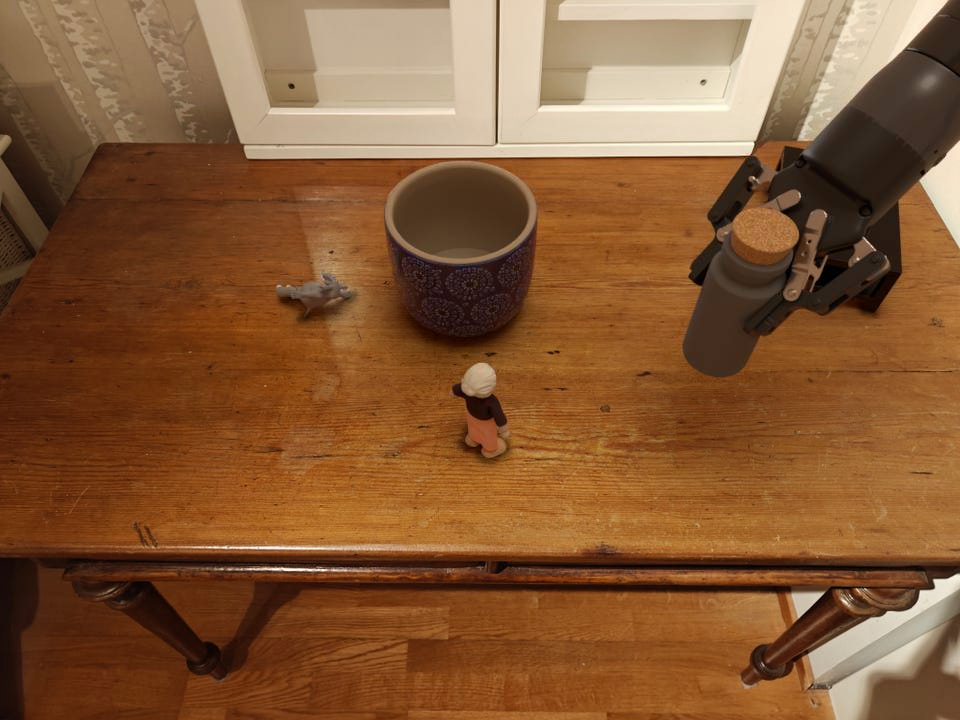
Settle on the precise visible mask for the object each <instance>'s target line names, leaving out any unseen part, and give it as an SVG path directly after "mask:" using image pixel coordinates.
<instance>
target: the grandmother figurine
mask: <svg viewBox="0 0 960 720" xmlns="http://www.w3.org/2000/svg"><path fill="white" fill-rule="evenodd" d="M497 378H498V377H497V374H496V371H495V369H493V368H492V367H491V366H490V365H489V363H487V362H478V363H475V364H473V365H472V366H470V367H469V368H468V369H467V370H466V372H465V373H464V375H463V378H460V379H461V382H458V383H454V384H453V385H452V386H451V390H449V397H450V398H451V399H453V400H457V399H459V398H461V399H464V401H465V408H466V423H467V429H468V430H467V431H468V433H467V435H466V437H465V439H464V443H465V444H466V445H467V446H469V447H471V448H475V447H478V446H479V445H481V446H482V447H481V450H480V451H481V454H482V456H483V457H484V458H486V459H493V458H495V457H497V456H499V455H502V454H504V453H505V452H506V451H507V444H506V441H505V440H507V439H509V438H510V437H511V431H510V429H509V424H508V417H507V416H506V414H505V412H504V411H503V408H502V404H501V402H500V400H499V398H498V397H497V396H496V394H494V392H495V390H496V385H497ZM497 429H498V431H499V436H500V437H498V431H497Z"/></svg>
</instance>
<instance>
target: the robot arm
mask: <svg viewBox="0 0 960 720" xmlns="http://www.w3.org/2000/svg"><path fill="white" fill-rule="evenodd" d="M959 142H960V0H947V1H946V2H945V3H944V5H943V6H942V8H940V9H939V11H938V12H936V13H935V15H934V16H933V17H932V18H931V19H929V21H928V22H927V24H925V25H924V27H923V28H922V29H921V30H920V31H919V32H918V33H917V34H916V35H915V36H914V37H913V38H912V40H911V41H910V42H909V43H908V44H907V45H906V46H904V48H903V49H902V50H901V51H900V52H899V53H898V54H897V55H896V56H895V57H894V58H892V60H890V61H889V62H888V63H887V64H886V65H885V66H883V68H881V69H880V70H879V71H877V73H875V74H874V75H873V76H872V77H871V78H870V79H869V80H868V81H867V82H866V83H865V84H864V85H863V86H862V88H861V89H859V91H858V92H856V93H855V95H854V96H853V97H852V99H850V100H849V102H848V103H846V105H845V106H843V108H842V109H840V111H839V112H838V113H837V114H836V115H835V116H834V118H832V119H831V121H830V122H828V124H827V125H826V126H825V127H824V128H823V129H822V131H820V132H819V134H817V136H816V137H815V138H814V139H812V141H811V142H810V143H809V144H808V145H807V146H806V147H805V148H804V149H805V150H804V151H803V152H802V153H801V155H800V156H799V158H798V159H797V160H796V162H795V163H794V164H792V165H791V166H789V167H787V168H785V169H783V170H781V171H779V172H777V171H775V169H773V168H771V167H769V166H767V165H765V164H763V162H761V160H760V159H759V158H758V156H756V155H749V156H748V157H746V158H745V159H744V161H743V162H742V164H741V165H740V166H739V167H738V169H737V171H736V172H735V173H734V175H733V176H732V178H731V179H730V181H729V182H728V184H726V186H725V188H724V189H723V190H722V192H721V193H720V195H719V196H718V198H717V199H716V201H715V202H714V203H713V205H712V206H711V208H710V209H709V211H708V212H707V214H706V217H707V221H709V222H710V224H711V226H712V228H713V230H714V238H713V239H712V240H711V242H709V244H708V245H707V246H706V247H705V248H704V249H703V250H702V251H701V252H700V253H699V254H698V255H697V256H696V257H695V258H694V259H693V261H692V262H691V264H690V266H689V270H690V272H689V274H688V276H687V277H688V279H689V280H690V281H691V282H692V283H693V284H695V285H696V286H698V287H702V285H703V282H704V280H705V277H706V274H707V271H708V269H709V266H710V263H711V261H712V259H713V258H714V256H715V255H716V254H717V253H718V252H719V251H721V248H722V244H723V241H724V238H725V236H726V235H727V233H728V232H729V231H730V230H732V225H733V221H734V219H735V217H736V216H737V215H738V214H739V213H740V212H742V211H744V208H745V207H746V206H747V204H748V203H749V201H750V200H751V199H752V197H753V196H754V194H755V193H760V192H762V191H763V190H764V189H766V188H767V187H768V186H769V185H770V190H769V193H768V196H767V201H766V203H764V204H762V205H759V206H758V207H757V208H768V209H772V210H775V211H778V212H780V213H782V214H784V215H786V216H787V217H789V218H790V219H791V220H792V221H793V222H794V223H795V225H796V226H797V228H798V231H799V238H798V241H797V243H796V244H795V246H794V247H793V252H794V253H795V254H796V255H795V257H794V260H793V262H792V271H791V274H790V276H789V279H788V281H787V284H785V286H784V288H783V291H782V293H781V295H778V294H777V293H776V294H775V295H774V296H773V297H772V298H771V299H770V300H769V301H768V302H767V303H766V304H765V305H764V306H763V307H762V308H761V309H760V310H759V311H758V312H757V313H756V314H755V315H754V316H753V317H752V318H751V319H750V320H749V321H748V322H747V323H746V324H745V325H744V327H743V331H745V332H746V333H747V334H748V335H749V336H751V337H753V338H756V337H758V336H759V335H761V336H762V337H763V338H766V337H768V336H770V335H772V334H773V333H775V332H776V330H777V329H778V328H779V327H780V326H781V325H782V324H783V323H784V322H785V321H786V320H787V319H789V317H791V315H793V313H794V312H796V311H799V310H807V311H809V312H812V313H814V314H816V315H818V316H821V317H826V316H828V315H830V314H831V313H833V312H834V311H835V310H838V309H839V308H840V307H841V306H843V305H845V303H847V302H848V301H849V300H851V299H853V298H852V297H854V296H855V295H856V294H858V293H859V292H861V291H862V290H864V289H865V288H866V287H868V286H869V285H871V284H872V283H873V282H875V281H876V280H878V279H879V278H880V277H882V276H883V275H885V274H886V273H887V272H888V271H889V270H890V263H889V260H888V259H887V258H886V256H885V255H884V254H883V253H882V252H880V251H877V250H876V249H875V248H874V247H873V246H872V245H871V244H870V243H869V241H868V240H867V238H868V235H869V232H870V230H871V228H872V226H873V225H874V223H875V222H877V221H878V220H879V219H880V218H881V217H882V216H883V215H884V214H885V213H886V212H887V211H888V210H889V209H890V208H891V207H892V206H894V205H895V204H896V203H897V202H898V201H900V200H901V199H902V198H903V197H904V196H905V195H906V194H907V193H908V192H909V191H911V189H912V188H913V187H914V186H915V185H916V184H918V182H920V180H921V179H922V178H923V177H924V176H926V175H927V174H928V173H929V172H930V171H931V170H932V169H933V168H935V167H937V166H938V165H939V164H940V163H941V162H942V161H943V160H944V159H945V158H946V157H947V154H948V153H950V151H951V150H952V149H953V148H954V147H956V145H957V144H958V143H959ZM852 249H855V253H854V255H853V256H852V257H851V258H850V259H849V261H848V266H849V268H848V269H847V270H846V271H844V272H843V273H842V274H840V275H839V276H838V277H836V278H835V279H833V280H832V281H831V282H829V283H828V284H827V285H825V286H824V287H823V288H821V289H820V290H818V291H815V292H813V290H812V289H813V287H814V284H815V282H816V280H818V279H819V277H820V275H821V272H822V270H823V267H824V265H825V262H826V260H827V257H828V255H831V254H835V253H839V252H844V251H848V250H852ZM815 263H816V264H815ZM761 336H760V337H761Z"/></svg>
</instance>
